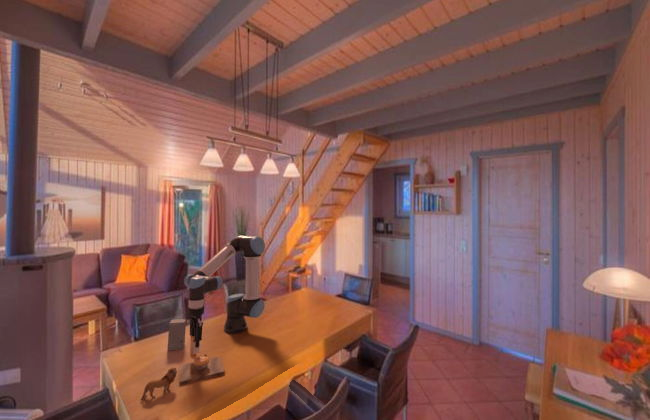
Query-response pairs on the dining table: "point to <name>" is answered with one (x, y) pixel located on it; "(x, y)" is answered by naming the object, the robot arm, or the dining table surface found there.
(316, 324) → the dining table surface
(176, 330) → the skincare box
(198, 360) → the tan piece
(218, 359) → the board
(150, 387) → the lion figurine
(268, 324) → the dining table surface
